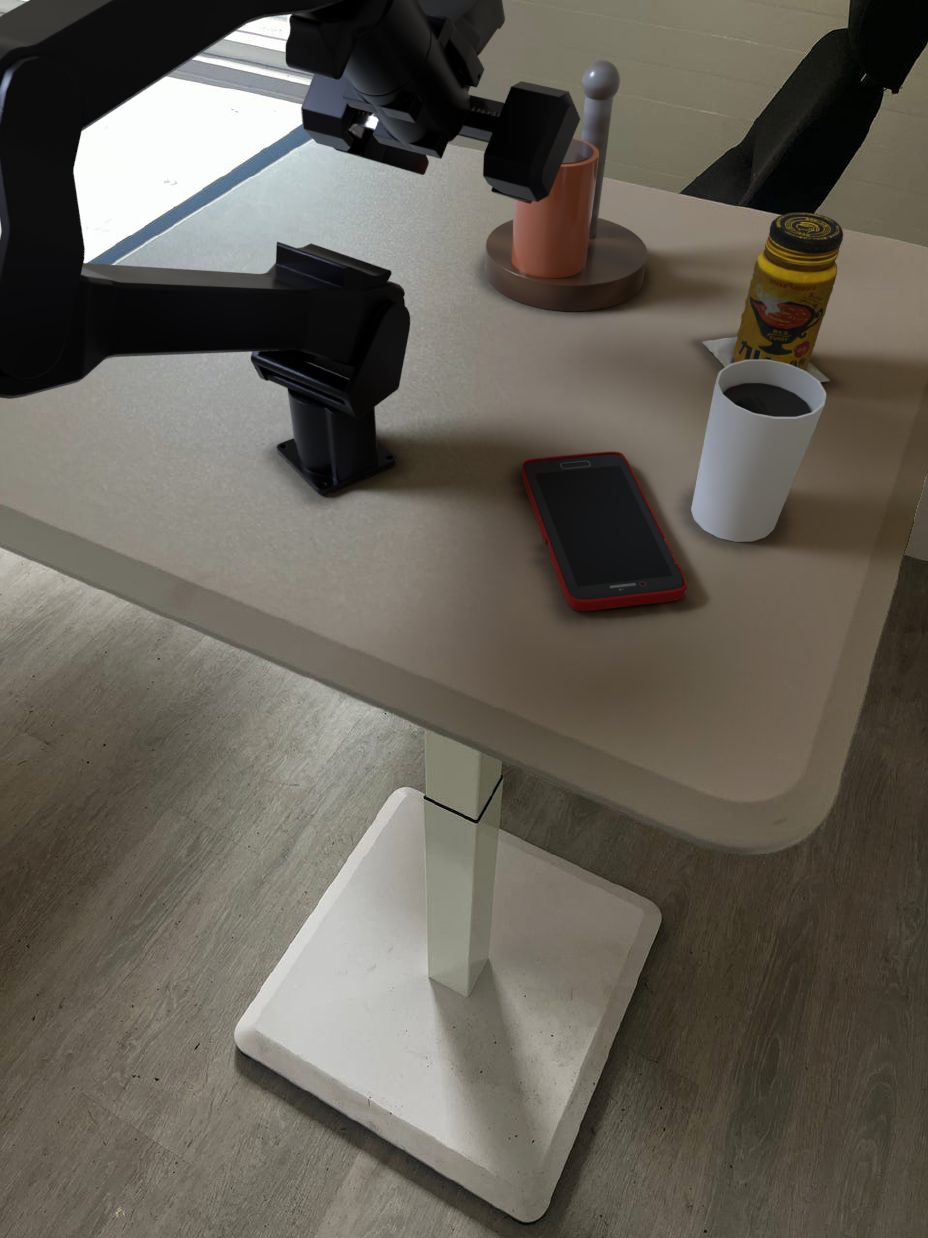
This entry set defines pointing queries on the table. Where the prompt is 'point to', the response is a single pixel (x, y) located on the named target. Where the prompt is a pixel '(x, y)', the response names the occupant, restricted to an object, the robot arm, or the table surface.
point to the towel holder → (610, 247)
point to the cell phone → (601, 532)
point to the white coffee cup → (754, 446)
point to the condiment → (787, 294)
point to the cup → (558, 219)
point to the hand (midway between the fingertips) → (477, 182)
